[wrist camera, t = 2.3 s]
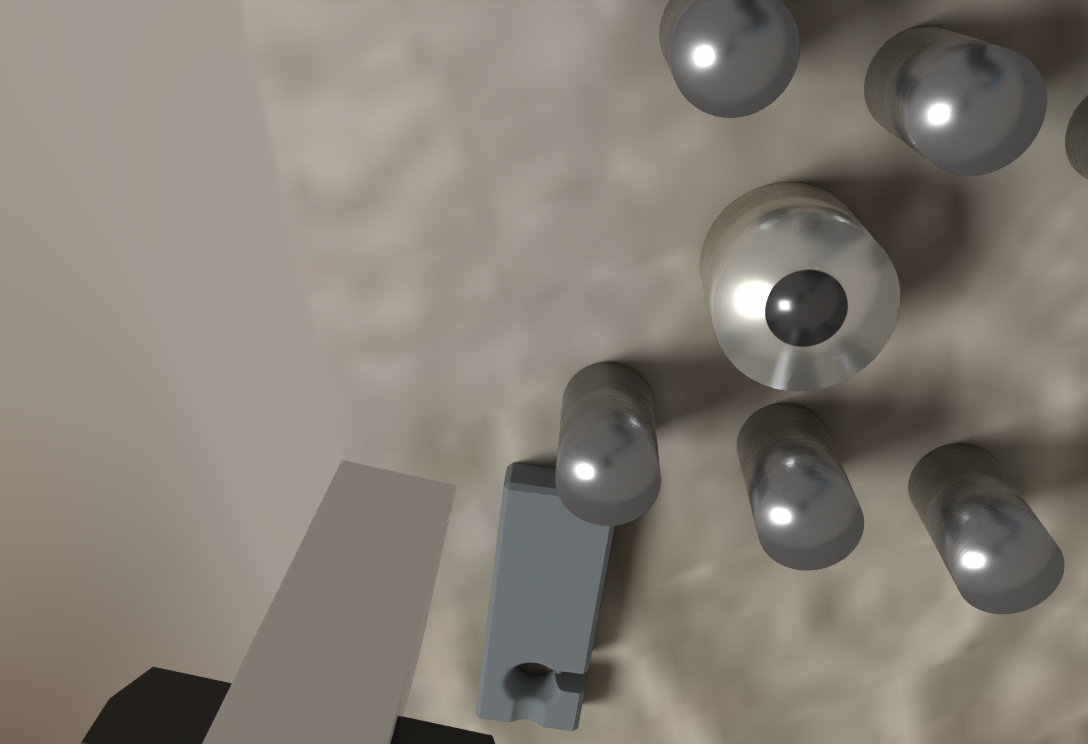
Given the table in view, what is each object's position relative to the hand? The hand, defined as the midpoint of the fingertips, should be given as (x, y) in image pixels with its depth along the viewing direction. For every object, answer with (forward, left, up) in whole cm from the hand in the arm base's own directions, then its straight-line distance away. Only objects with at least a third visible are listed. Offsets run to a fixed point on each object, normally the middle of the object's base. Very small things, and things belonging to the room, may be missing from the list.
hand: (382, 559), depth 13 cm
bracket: (+14, +4, -19) cm, 24 cm away
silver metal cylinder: (0, +9, -19) cm, 20 cm away
